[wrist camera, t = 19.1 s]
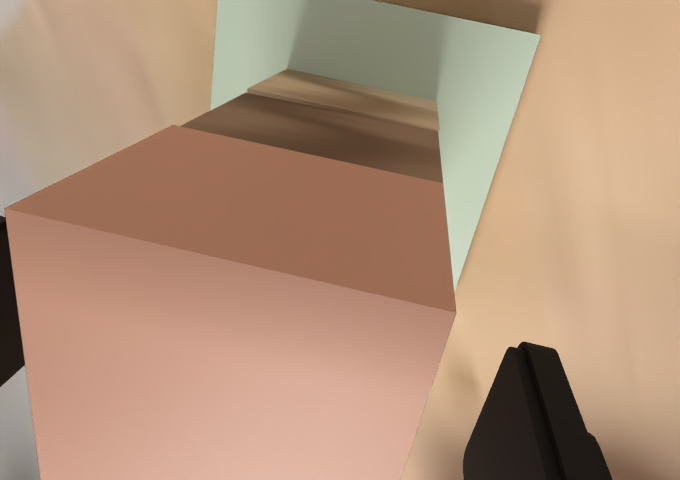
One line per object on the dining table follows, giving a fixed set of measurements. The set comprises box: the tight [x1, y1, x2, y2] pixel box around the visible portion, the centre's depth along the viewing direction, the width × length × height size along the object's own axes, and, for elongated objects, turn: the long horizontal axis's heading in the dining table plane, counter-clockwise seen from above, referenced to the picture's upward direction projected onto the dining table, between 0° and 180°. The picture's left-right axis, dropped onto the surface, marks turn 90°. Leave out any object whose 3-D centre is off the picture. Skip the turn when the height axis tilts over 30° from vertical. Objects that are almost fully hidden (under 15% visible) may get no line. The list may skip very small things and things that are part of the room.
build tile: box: [210, 0, 541, 292], centre depth 22 cm, size 12×12×1 cm
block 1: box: [247, 69, 440, 136], centre depth 19 cm, size 6×6×5 cm
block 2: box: [181, 93, 443, 183], centre depth 15 cm, size 6×6×5 cm
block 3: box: [4, 125, 456, 480], centre depth 10 cm, size 6×6×5 cm
